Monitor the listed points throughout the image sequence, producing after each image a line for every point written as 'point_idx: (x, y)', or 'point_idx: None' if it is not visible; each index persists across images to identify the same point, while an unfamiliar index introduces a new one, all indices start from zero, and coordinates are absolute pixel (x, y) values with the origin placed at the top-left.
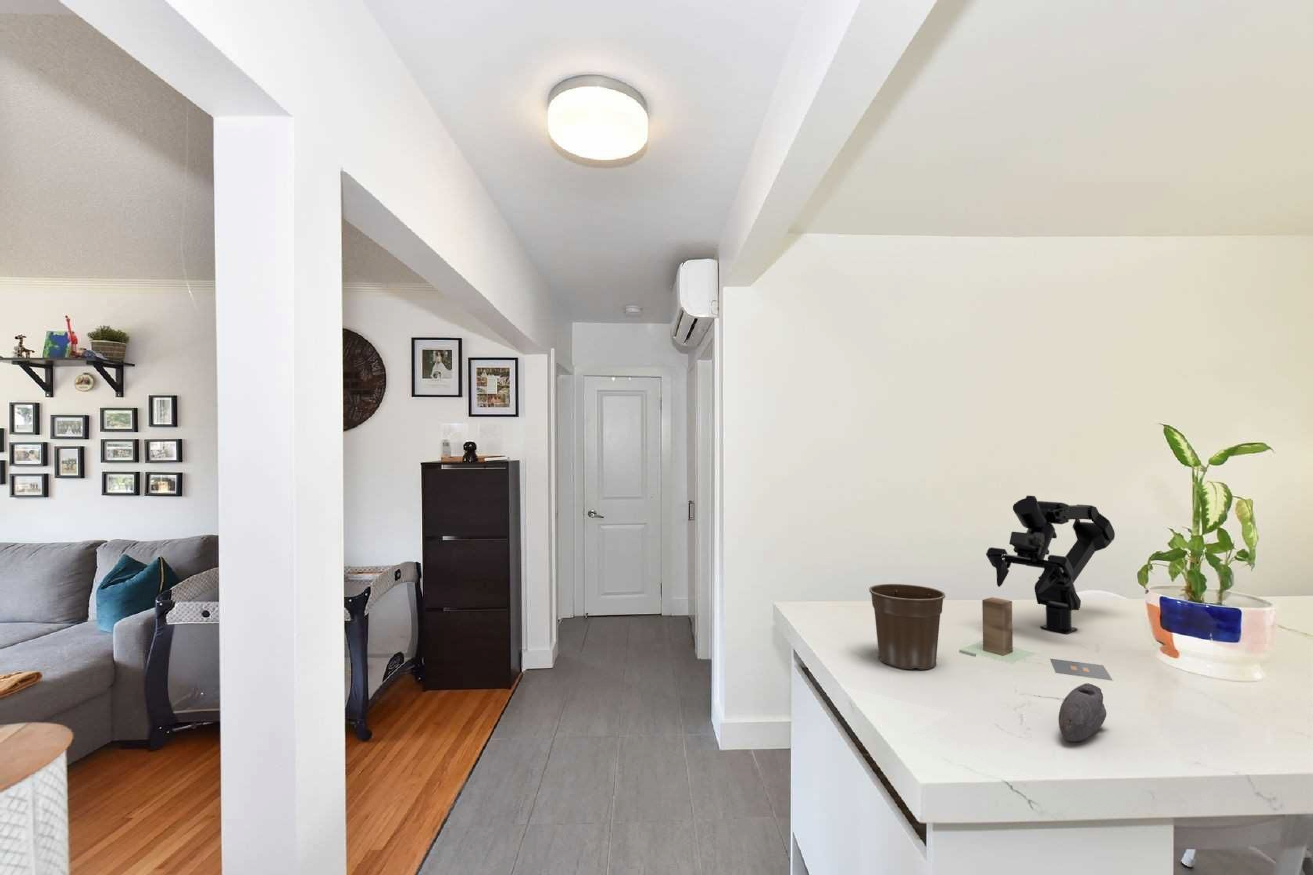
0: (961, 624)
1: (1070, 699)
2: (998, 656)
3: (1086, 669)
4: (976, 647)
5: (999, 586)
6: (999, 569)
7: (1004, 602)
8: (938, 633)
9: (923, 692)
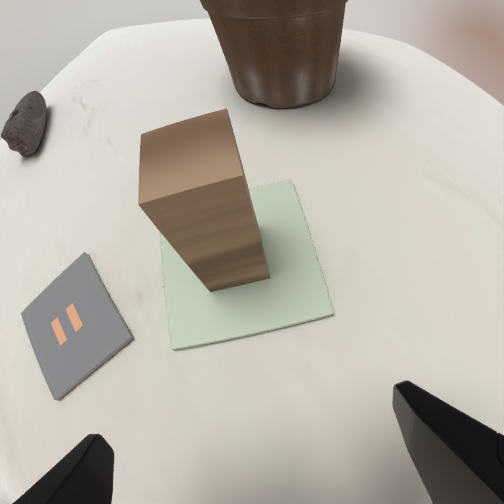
0: (499, 397)
1: (25, 96)
2: None
3: (58, 333)
4: (287, 231)
5: (393, 402)
6: (498, 466)
7: (147, 155)
8: (228, 50)
9: (183, 56)
